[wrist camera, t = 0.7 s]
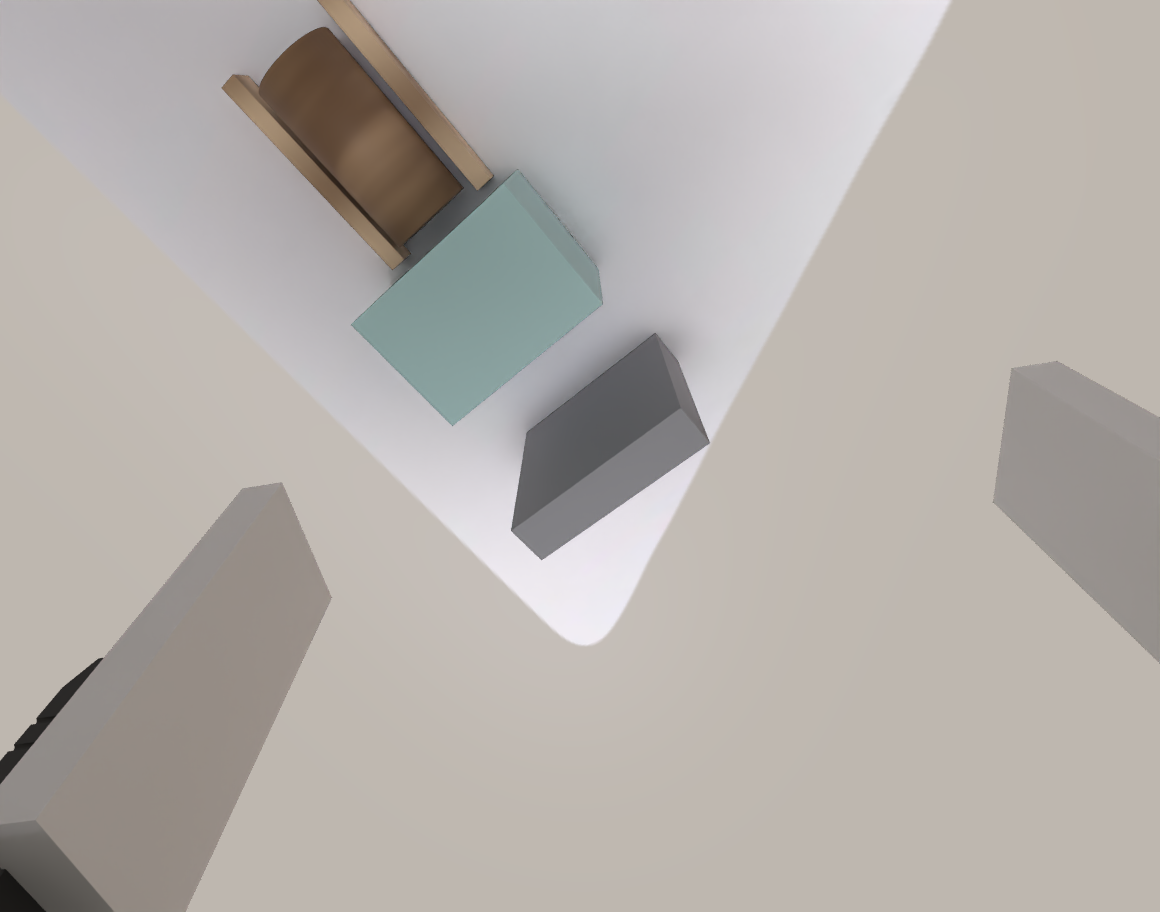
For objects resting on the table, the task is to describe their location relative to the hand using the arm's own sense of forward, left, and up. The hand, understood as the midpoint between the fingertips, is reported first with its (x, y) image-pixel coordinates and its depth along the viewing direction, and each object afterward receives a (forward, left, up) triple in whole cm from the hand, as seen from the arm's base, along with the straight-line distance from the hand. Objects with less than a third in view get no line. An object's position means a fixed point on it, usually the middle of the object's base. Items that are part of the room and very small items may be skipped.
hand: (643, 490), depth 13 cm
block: (-3, -5, -24) cm, 24 cm away
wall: (+6, -5, -24) cm, 25 cm away
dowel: (-10, -5, -24) cm, 27 cm away
